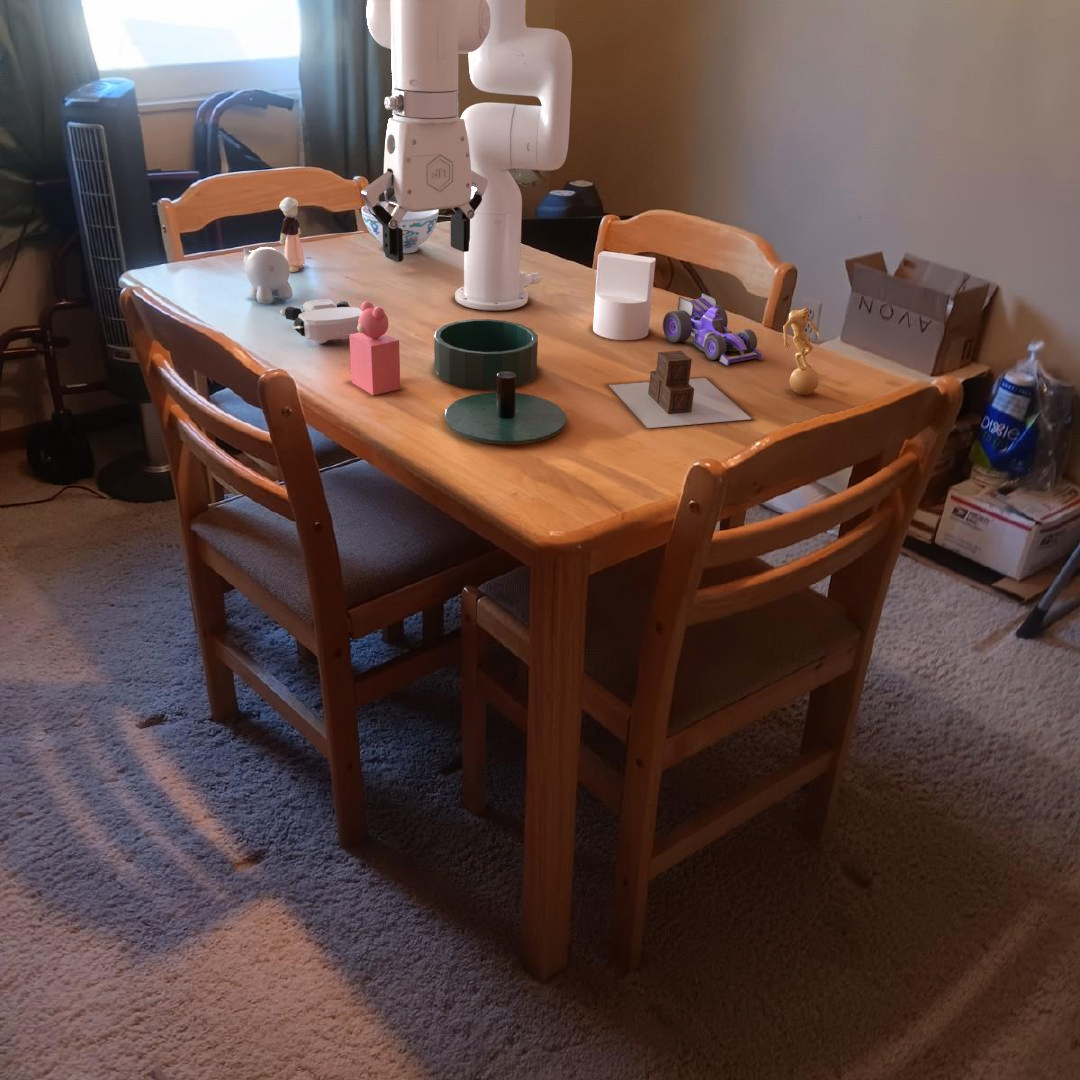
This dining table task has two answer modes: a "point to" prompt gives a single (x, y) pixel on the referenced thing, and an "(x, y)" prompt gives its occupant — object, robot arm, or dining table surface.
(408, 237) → the chinaware
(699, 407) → the stack of crates
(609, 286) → the cylinder with rectangular tab
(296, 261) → the grandmother figurine
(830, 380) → the dining table surface
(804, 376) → the figurine
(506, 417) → the pot lid
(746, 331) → the toy race car
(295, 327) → the robot toy
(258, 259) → the toy rhinoceros
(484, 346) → the pot
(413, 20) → the robot arm
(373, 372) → the pink bear head stamp
